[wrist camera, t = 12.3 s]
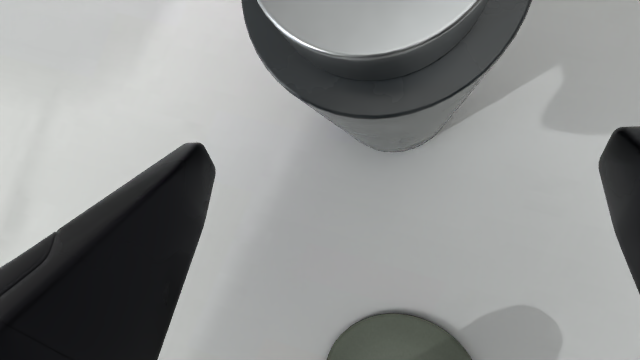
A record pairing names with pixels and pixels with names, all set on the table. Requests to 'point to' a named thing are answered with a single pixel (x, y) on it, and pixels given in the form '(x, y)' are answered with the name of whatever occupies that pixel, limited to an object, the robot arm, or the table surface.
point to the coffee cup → (396, 340)
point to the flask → (383, 59)
